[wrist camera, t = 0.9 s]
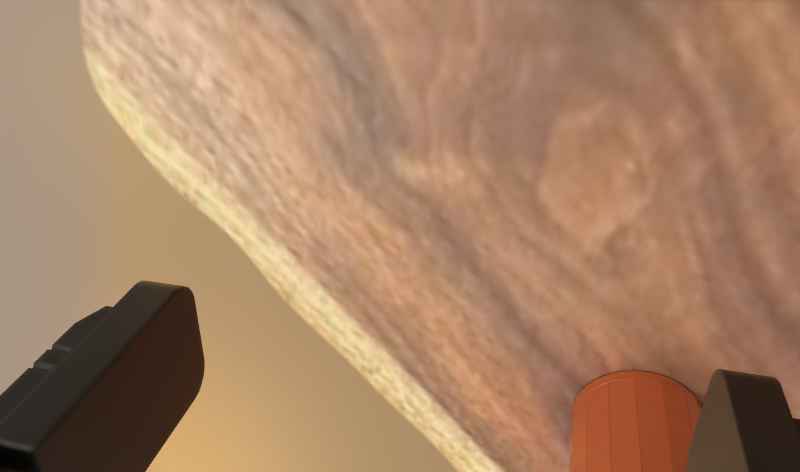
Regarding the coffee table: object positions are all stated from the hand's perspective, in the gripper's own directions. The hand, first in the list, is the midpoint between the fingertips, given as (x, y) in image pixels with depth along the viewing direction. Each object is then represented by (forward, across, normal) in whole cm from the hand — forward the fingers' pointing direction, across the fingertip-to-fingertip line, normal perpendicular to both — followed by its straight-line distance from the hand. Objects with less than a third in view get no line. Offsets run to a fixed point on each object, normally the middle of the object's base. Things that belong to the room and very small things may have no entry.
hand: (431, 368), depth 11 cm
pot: (+19, -7, +18) cm, 27 cm away
